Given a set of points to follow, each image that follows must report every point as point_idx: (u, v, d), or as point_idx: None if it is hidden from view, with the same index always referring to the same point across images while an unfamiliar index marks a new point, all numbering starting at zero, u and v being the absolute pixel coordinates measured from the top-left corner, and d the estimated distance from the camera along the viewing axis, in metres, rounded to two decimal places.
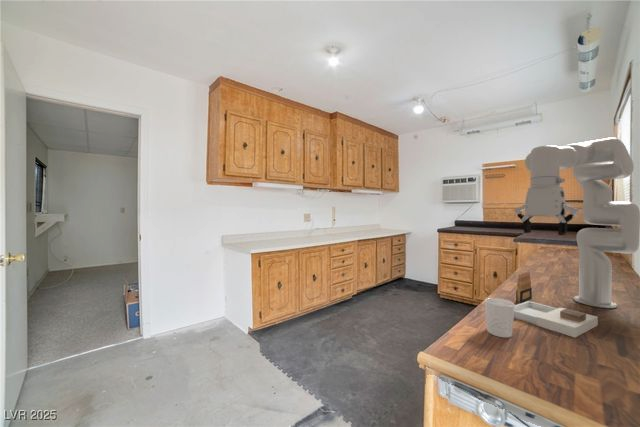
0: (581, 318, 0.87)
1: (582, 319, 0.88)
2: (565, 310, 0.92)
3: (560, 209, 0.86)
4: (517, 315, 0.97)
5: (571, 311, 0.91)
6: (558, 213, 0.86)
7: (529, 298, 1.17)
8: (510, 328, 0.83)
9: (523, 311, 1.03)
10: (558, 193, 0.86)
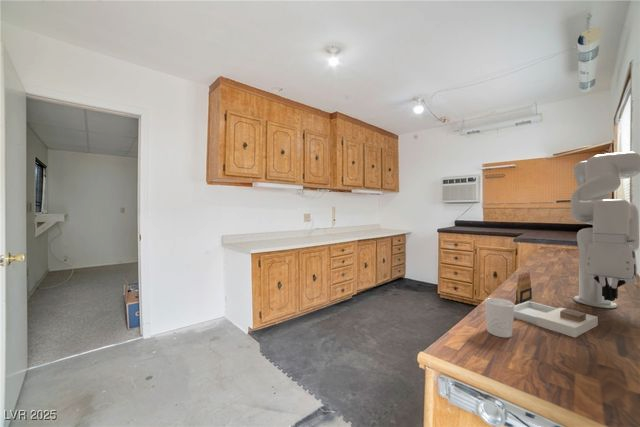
0: (581, 318, 0.87)
1: (582, 319, 0.88)
2: (565, 310, 0.92)
3: (632, 272, 0.77)
4: (517, 315, 0.97)
5: (571, 311, 0.91)
6: (630, 276, 0.77)
7: (529, 298, 1.17)
8: (510, 328, 0.83)
9: (523, 311, 1.03)
10: (629, 254, 0.77)
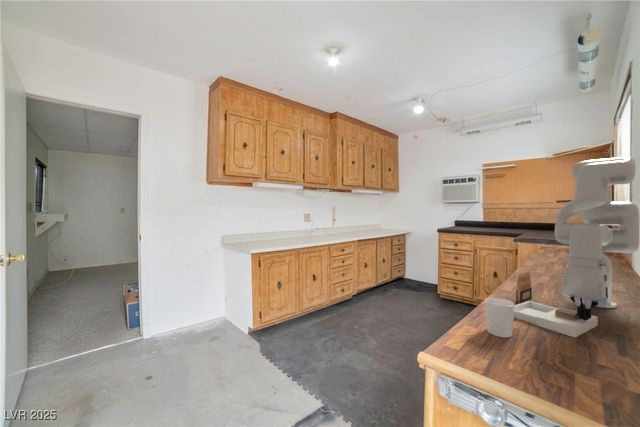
0: (576, 317, 0.88)
1: (577, 318, 0.89)
2: (560, 309, 0.93)
3: (604, 295, 0.82)
4: (517, 315, 0.97)
5: (566, 310, 0.92)
6: (602, 299, 0.82)
7: (529, 298, 1.17)
8: (510, 328, 0.83)
9: (523, 311, 1.03)
10: (602, 278, 0.83)
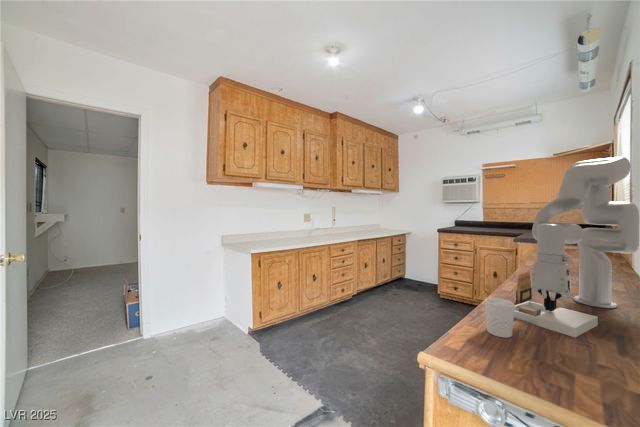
0: None
1: None
2: None
3: (566, 287, 0.90)
4: (517, 315, 0.97)
5: None
6: (564, 291, 0.91)
7: (529, 298, 1.17)
8: (510, 328, 0.83)
9: None
10: (564, 272, 0.91)
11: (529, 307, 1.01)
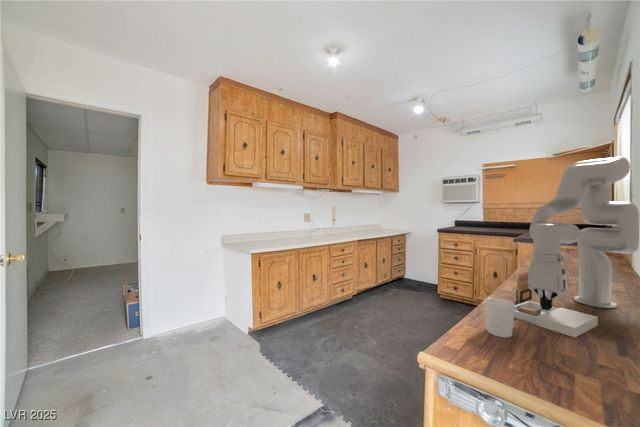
0: None
1: None
2: None
3: (561, 286, 0.91)
4: (517, 315, 0.97)
5: None
6: (559, 290, 0.92)
7: (529, 298, 1.17)
8: (510, 328, 0.83)
9: None
10: (559, 271, 0.92)
11: (529, 307, 1.01)
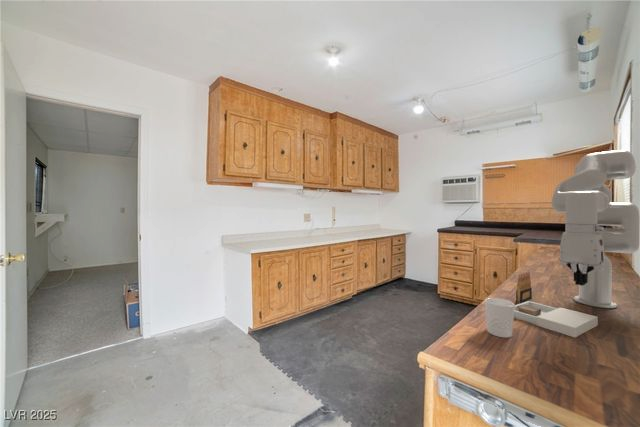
0: None
1: None
2: None
3: (599, 259, 0.83)
4: (517, 315, 0.97)
5: None
6: (597, 263, 0.84)
7: (529, 298, 1.17)
8: (510, 328, 0.83)
9: None
10: (597, 242, 0.84)
11: (529, 307, 1.01)
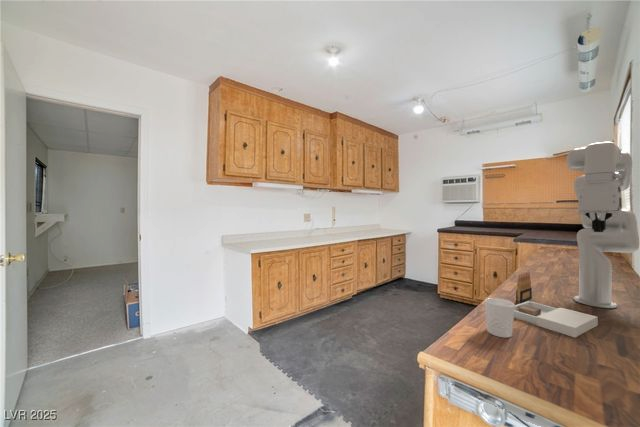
0: None
1: None
2: None
3: (618, 204, 0.88)
4: (517, 315, 0.97)
5: None
6: (615, 208, 0.89)
7: (529, 298, 1.17)
8: (510, 328, 0.83)
9: None
10: (615, 189, 0.89)
11: (529, 307, 1.01)
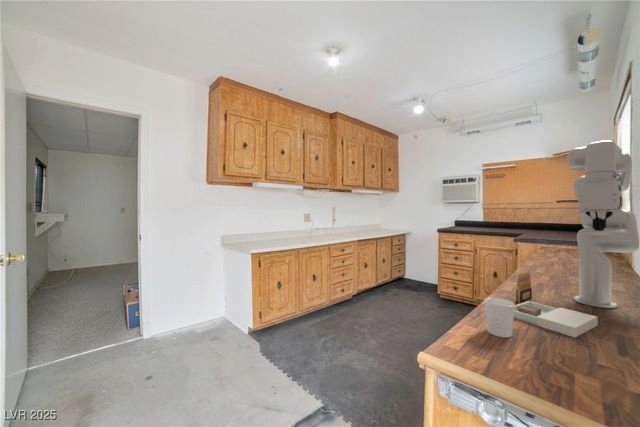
0: None
1: None
2: None
3: (618, 203, 0.88)
4: (517, 315, 0.97)
5: None
6: (616, 206, 0.89)
7: (529, 298, 1.17)
8: (510, 328, 0.83)
9: None
10: (616, 187, 0.89)
11: (529, 307, 1.01)
